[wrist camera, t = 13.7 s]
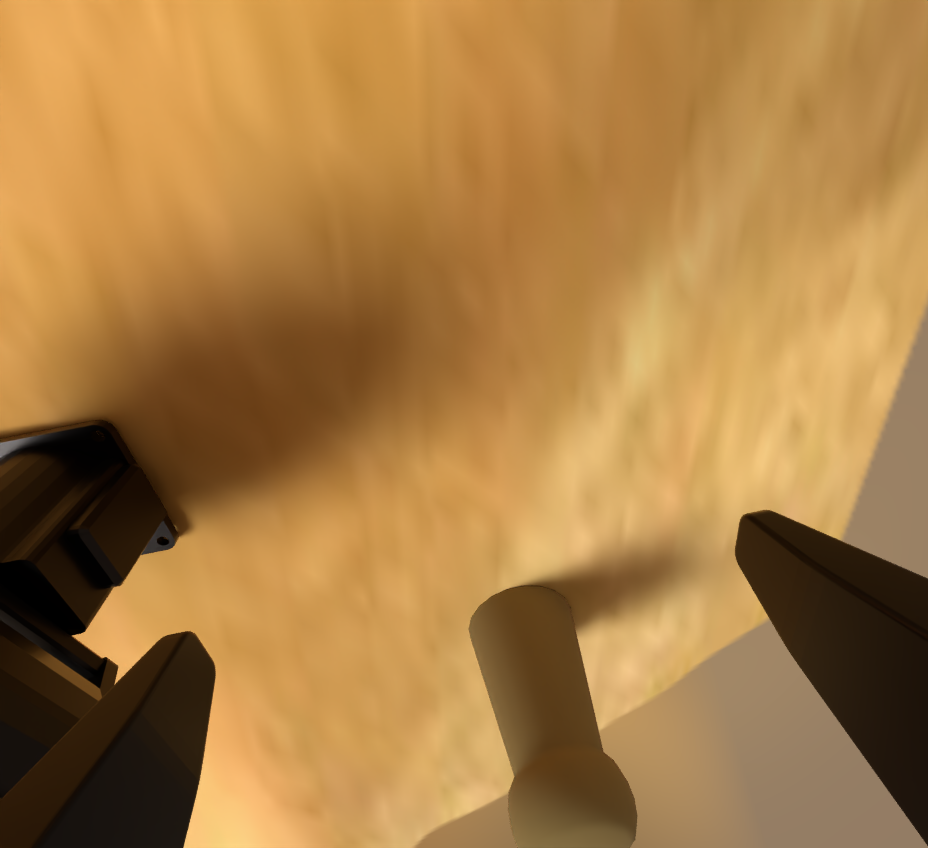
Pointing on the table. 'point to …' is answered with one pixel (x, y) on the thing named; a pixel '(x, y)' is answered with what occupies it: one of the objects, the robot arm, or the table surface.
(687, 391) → the table surface
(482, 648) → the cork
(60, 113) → the table surface
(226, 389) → the table surface
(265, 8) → the table surface
